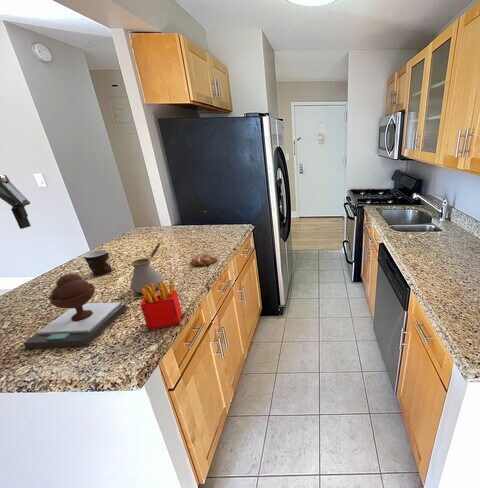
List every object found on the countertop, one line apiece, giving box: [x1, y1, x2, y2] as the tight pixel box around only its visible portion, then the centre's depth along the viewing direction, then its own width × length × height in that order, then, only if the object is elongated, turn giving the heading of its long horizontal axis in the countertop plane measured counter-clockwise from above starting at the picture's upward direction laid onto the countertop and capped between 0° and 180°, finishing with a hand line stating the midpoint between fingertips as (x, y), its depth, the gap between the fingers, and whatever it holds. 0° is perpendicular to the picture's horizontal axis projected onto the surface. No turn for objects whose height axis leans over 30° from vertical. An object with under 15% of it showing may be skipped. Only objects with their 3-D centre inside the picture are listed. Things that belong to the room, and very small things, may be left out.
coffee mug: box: [83, 249, 112, 277], centre depth 118 cm, size 12×9×10 cm
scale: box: [22, 301, 127, 350], centre depth 86 cm, size 17×19×3 cm
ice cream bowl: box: [47, 273, 96, 321], centre depth 84 cm, size 11×11×15 cm
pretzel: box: [191, 253, 218, 267], centre depth 132 cm, size 12×11×4 cm
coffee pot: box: [129, 242, 164, 295], centre depth 110 cm, size 21×12×15 cm, turn 3°
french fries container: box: [140, 280, 183, 331], centre depth 86 cm, size 7×9×14 cm
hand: (3, 227), depth 83 cm, fingers open, 13 cm apart
